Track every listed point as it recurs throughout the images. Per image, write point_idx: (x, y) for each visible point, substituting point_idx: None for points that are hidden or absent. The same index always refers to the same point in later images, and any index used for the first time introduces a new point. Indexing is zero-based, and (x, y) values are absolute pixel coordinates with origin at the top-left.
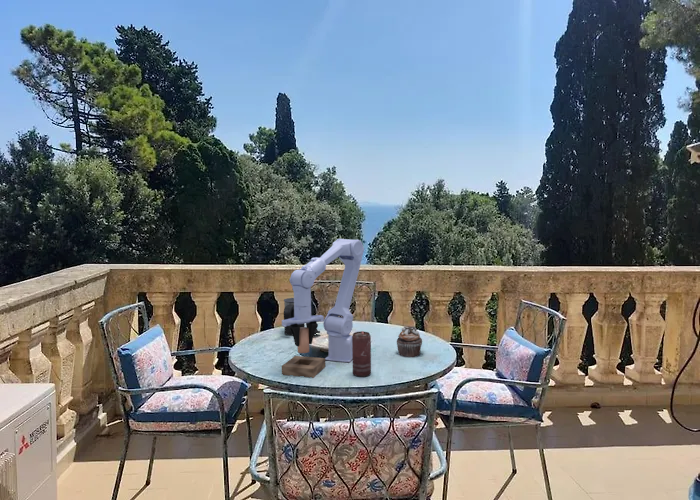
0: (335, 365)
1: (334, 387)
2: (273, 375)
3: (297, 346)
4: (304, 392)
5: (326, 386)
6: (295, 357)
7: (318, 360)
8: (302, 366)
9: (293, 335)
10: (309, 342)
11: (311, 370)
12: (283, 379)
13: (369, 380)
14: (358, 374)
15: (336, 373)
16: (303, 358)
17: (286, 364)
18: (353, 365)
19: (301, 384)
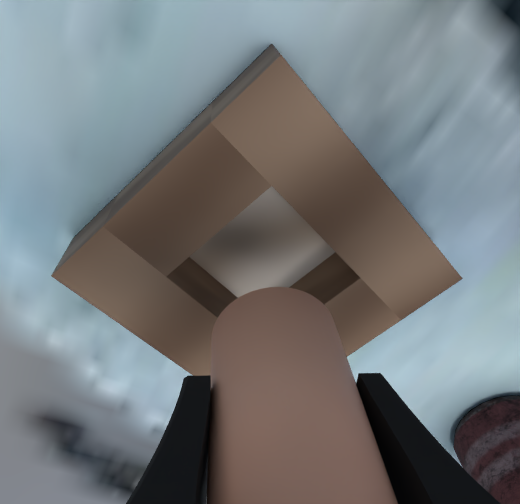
0: (505, 250)
1: None
2: (5, 220)
3: (213, 367)
4: (126, 492)
5: None
6: (256, 117)
7: (386, 296)
8: (209, 354)
9: (149, 495)
10: None
11: None
12: (64, 319)
13: None
14: (460, 462)
15: (404, 368)
16: (310, 188)
17: (103, 263)
18: (479, 479)
19: (147, 419)
